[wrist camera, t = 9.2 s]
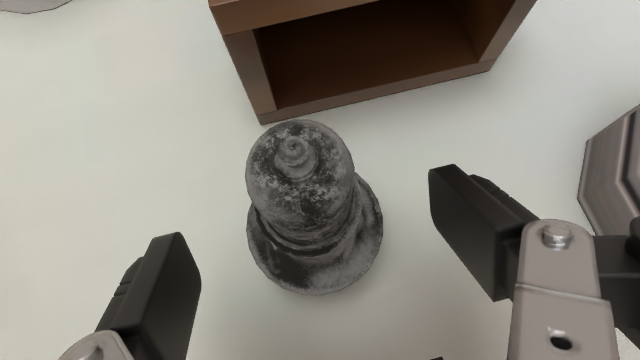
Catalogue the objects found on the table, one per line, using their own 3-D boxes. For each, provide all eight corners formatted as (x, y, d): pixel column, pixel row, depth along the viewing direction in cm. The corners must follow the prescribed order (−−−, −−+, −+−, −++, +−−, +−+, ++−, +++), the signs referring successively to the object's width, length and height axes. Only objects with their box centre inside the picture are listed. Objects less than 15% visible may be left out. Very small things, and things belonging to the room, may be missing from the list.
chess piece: (366, 177, 20) (409, 13, 8) (382, 289, 18) (466, 275, 6) (259, 189, 20) (155, 40, 8) (264, 301, 18) (140, 309, 6)
